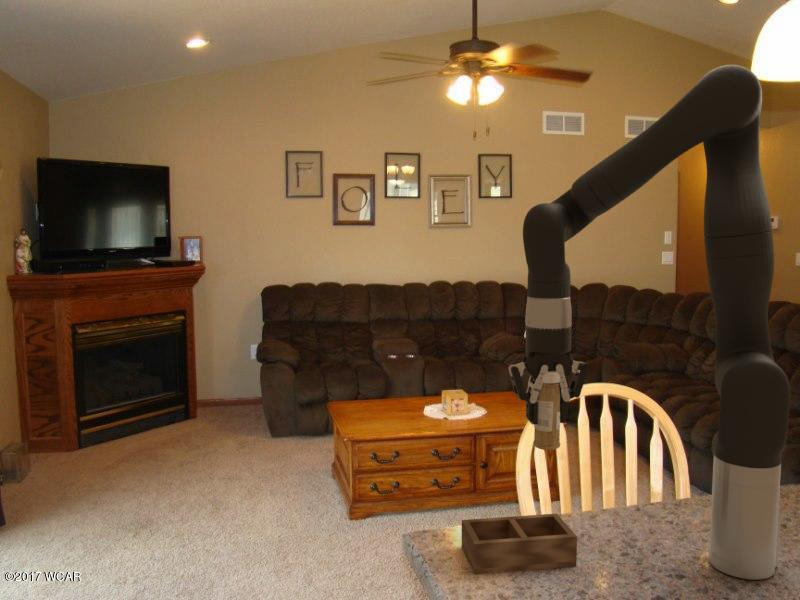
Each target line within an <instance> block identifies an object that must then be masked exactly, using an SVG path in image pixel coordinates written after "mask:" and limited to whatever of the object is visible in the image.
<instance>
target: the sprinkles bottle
mask: <svg viewBox="0 0 800 600" xmlns="http://www.w3.org/2000/svg"><path fill="white" fill-rule="evenodd" d="M540 379H541V378H540ZM542 382H543V385H542V389H541V391H540V392H539V394H538V398H537V401H536V403H537V424H534V425H533V427H534V431H533V433H534V440H533V446H534V448H537V449H540V450H544V451H552V450H553V451H554V450H557V449H559V448H560V447H561V441H560V438H561V437H560V435H561V434H560V433H561V432H560V431H561V423H560V386H559V385H560V384H559V382H560V374H558V373H557V372H556V371H547V373H546V374H545V375H543V381H542Z"/></svg>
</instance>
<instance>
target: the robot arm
mask: <svg viewBox="0 0 800 600" xmlns="http://www.w3.org/2000/svg"><path fill="white" fill-rule="evenodd" d="M762 105H763V89H762V85H761V82H760V80H759V78H758V77H757V76H756V75H755V73H754V72H753V71H752V70H750V69H748V68H747V67H745V66H741V65H738V64H725V65H721V66H718V67H716V68H715V67H714V68H713V69H711V70H710V71H708V72H707V73H706V74H704V75H703V76H702V77H701V78H700V80H699V81H698V82H696V84H694V86H692V87H691V89H690V90H688V92H686V93H685V94H684V95H683V96H682V97H681V98H680V100H678V101H677V102H676V103H675V104H674V105H673V106H672V107H671V108H670V109H668V111H667V112H665V113H664V114H663V115H662V116H661V117H660V118H659V119H657V120H656V121H655V122H653V123H652V124H651V125H650V126H648V127H647V128H646V129H645V130H643V131H642V132H640V134H637V136H635V137H634V138H633V139H631V140H630V141H628V142H627V143H626V144H624V145H623V146H621V147H620V148H618V149H617V150H616V151H615V150H614V152H613V153H611V154H610V155H608V156H607V157H605V158H603V159H602V160H601V161H599V162H598V163H597V164H595V165H594V166H592V167H591V168H590V169H589V170H587V171H585V172H584V173H583V174H581V176H579V177H578V178H577V179H576V180H575V181H574V182H573V183H572V185H571V188H570V189H568V190H566V191H565V192H564V193H563V194H561V195H560V196H559V197H557V198H556V199H555V200H553V201H552V202H550V203H547V202H544V203H543V202H542V203H539V204H536V205H534V206H532V207H531V208H530V209H529V210H528V212H527V213H526V215H525V217H524V220H523V224H522V240H523V248H524V255H525V262H526V266H527V298H526V306H525V317H524V321H525V355H524V357H523V359H522V361H521V362H519V363H516V364H513V363H509V364H508V365H507V367H506V368H507V371H508V375H509V378H510V381H511V385H512V388H513V391H514V395H515V397H517V398H518V399H519V400H521V401H525V417H526V419H527V421H528V422H529V423H530V424H531V425H532V426H534V424H537V403H536V401H537V398H538V394H539V392H540V391H541V389H542V385H543V382H542V381H543V375H545V374H546V373H547V371H556V372H557V373H558V374H560V382H559V384H560V385H559V386H560V424H565V423H566V420H568V418H569V407H570V406H569V405H570V403H569V402H570V400H572V399H574V398H577V399H578V398H579V397H580V396H581V393H582V390H583V388H584V383H585V381H586V377H587V373H588V370H589V365H588V364H587V363H585V362H583V361H581V360H578V361H577V360H574V358H573V357H572V353H571V351H572V312H573V311H572V304H571V282H572V281H571V270H570V269H571V268H570V266H569V265H568V264H567V262H566V250H565V249H566V247H565V244H566V242H568V241H570V240H571V239H572V238H573V237H575V236H576V235H578V234H579V233H580V232H581V231H583V230H584V229H585V228H586V227H588V226H589V225H590V224H591V223H592V222H594V220H596V219H597V218H598V217H599V216H601V215H604V214H605V213H606V212H608V211H610V210H612V208H614V207H615V206H617V205H618V204H620V203H622V202H623V201H625V200H626V199H627V198H629V197H630V196H631V195H633V194H634V193H635V192H638V190H640V188H642V187H643V186H644V185H646V184H647V183H648V182H650V180H651V179H653V178H654V177H655V176H657V174H659V173H660V172H661V171H662V170H663V169H664V168H666V167H667V166H668V165H669V164H671V163H672V162H674V161H675V160H676V159H678V158H679V157H680V156H682V155H683V154H685V153H686V152H688V151H689V150H691V149H692V148H694V147H697V146H698V145H699V144H701V143H703V150H704V157H705V164H706V184H705V192H704V193H705V195H704V203H703V204H704V205H703V238H704V239H703V240H704V242H703V243H704V250H705V251H704V253H705V263H706V269H707V276H708V277H707V278H708V284H709V290H710V297H711V301H712V307H713V311H714V317H715V318H714V319H715V361H714V385H715V388H716V391H717V393H718V395H719V397H720V398H719V415H718V429H717V433H716V436H715V437H714V445H713V461H712V462H713V463H712V483H711V509H710V527H709V551H708V553H709V554H708V561H709V564H710V565H712V567H713V568H715V569H716V570H718V571H720V572H722V573H724V574H726V575H728V576H731V577H736V578H740V579H745V580H754V581H755V580H756V581H757V580H758V581H759V580H765V579H769V578H771V577H772V576H774V574H775V573H776V570H775V569H776V568H777V567H779V556H780V555H779V553H780V537H781V522H782V521H781V520H782V508H781V506H780V494H781V493H780V491H781V473H782V457H783V451H784V449H785V448H786V444H787V439H788V438H787V437H788V429H789V421H790V420H789V418H790V417H789V416H790V406H791V387H790V381H789V379H788V376H787V374H786V373H785V371H784V370H783V369H782V368H781V367H780V366H779V365H778V364H777V363H776V362H775V358H774V355H773V349H772V345H771V338H770V337H771V336H770V332H769V320H768V319H769V317H768V314H769V306H770V305H769V304H770V299H771V292H772V286H773V281H774V273H775V247H774V246H775V245H774V235H773V234H774V233H773V225H772V224H773V223H772V216H771V215H772V214H771V210H770V209H771V208H770V205H769V200H768V199H769V198H768V194H767V191H766V187H765V186H766V185H765V182H764V181H765V180H764V177H763V174H762V167H761V161H760V160H761V158H760V157H761V156H760V133H761V132H760V130H761V128H760V127H761V126H760V125H761V113H762ZM570 369H571V371H572V373H573V374H572V376H571V380H570V383H569V386H568V383H567V379H566V378H567V377H566V375H567V374H568V373H569V371H570ZM524 370H526V371H527V373H528V374H529V379H528V382H527V389H526V391H525V387H524V383H523V380H522V377H523V375H524ZM540 378H541V379H540Z"/></svg>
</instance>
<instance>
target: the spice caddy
mask: <svg viewBox="0 0 800 600" xmlns="http://www.w3.org/2000/svg"><path fill="white" fill-rule="evenodd" d="M461 549H462V552H463V554H464V556H465V558H466V560H467V562H468V563H469V566H470V567H471V569H472V571H473V574H474V575H482V574H496V573H497V574H498V573H506V572H518V571H519V572H520V571H521V572H522V571H530V570H532V571H533V570H542V569H543V570H544V569H545V570H546V569H555V568H556V569H557V568H559V569H560V568H568V567H577V561H578V559H577V557H578V555H577V554H578V536H577V535H576V534H575V532H574V531H573V530H572V529H571V528H570V526H569V525H568V524H567V523H566V522H565V521H564V520H563V518H562V517H560V515H559V513H545V514H543V513H542V514H531V515H530V514H527V515H516V516H515V515H514V516H502V517H500V516H499V517H489V518H488V517H487V518H475V519H471V518H470V519H462V520H461Z"/></svg>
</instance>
